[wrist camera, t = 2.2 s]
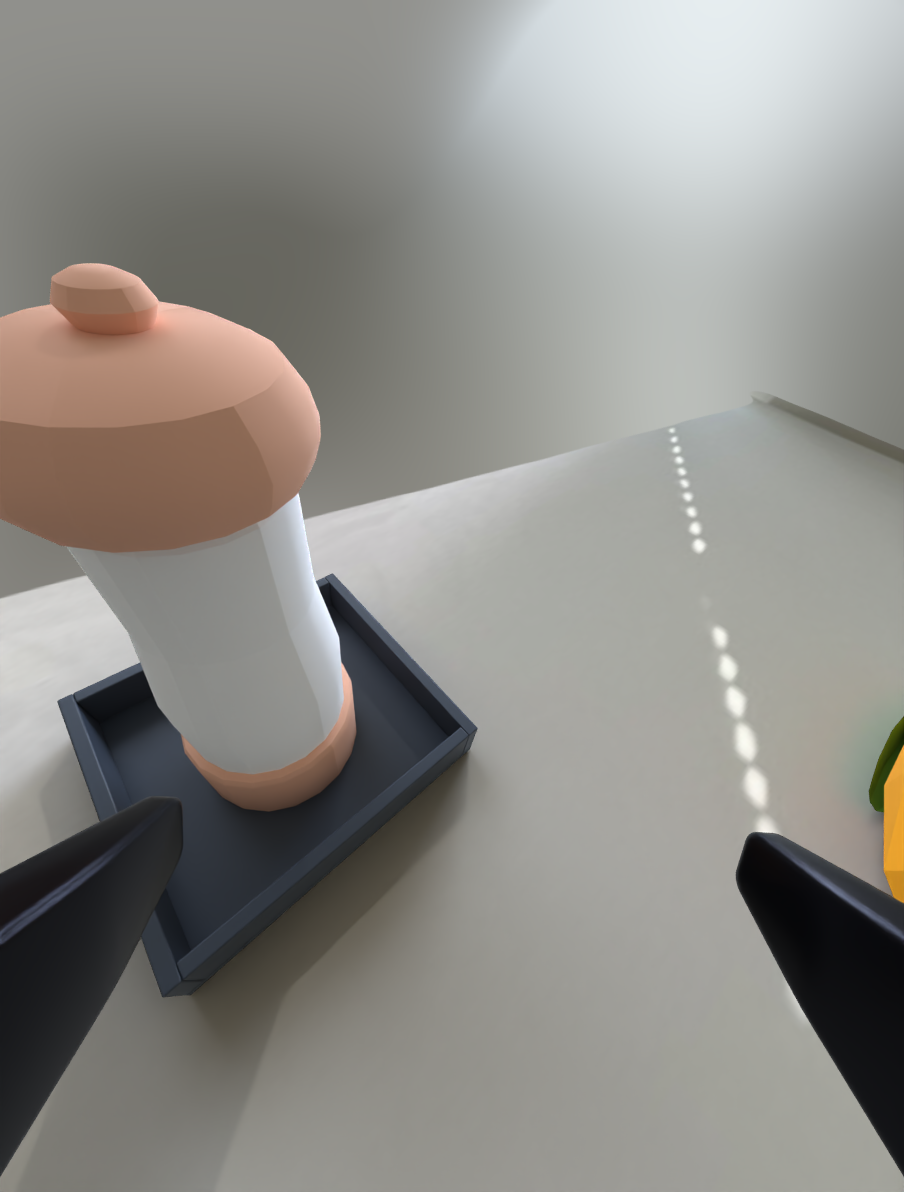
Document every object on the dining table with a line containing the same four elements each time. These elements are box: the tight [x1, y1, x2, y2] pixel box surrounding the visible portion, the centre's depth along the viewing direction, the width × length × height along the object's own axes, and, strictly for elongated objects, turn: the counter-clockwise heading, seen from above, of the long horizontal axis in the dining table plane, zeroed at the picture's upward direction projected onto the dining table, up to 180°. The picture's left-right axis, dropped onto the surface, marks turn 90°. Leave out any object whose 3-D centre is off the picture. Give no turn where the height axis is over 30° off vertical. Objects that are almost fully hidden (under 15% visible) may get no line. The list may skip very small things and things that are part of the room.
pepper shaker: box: [0, 263, 356, 812], centre depth 14 cm, size 7×7×19 cm
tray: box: [58, 574, 477, 997], centre depth 21 cm, size 14×13×3 cm
